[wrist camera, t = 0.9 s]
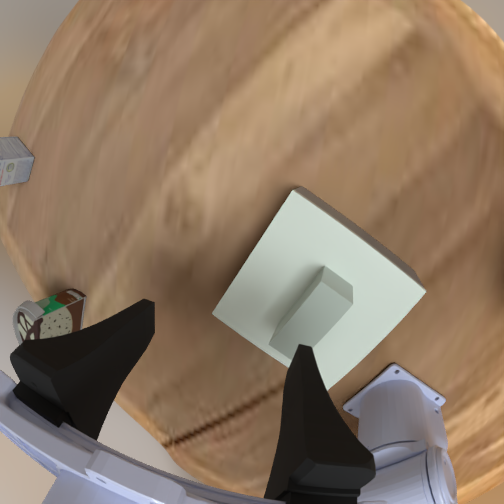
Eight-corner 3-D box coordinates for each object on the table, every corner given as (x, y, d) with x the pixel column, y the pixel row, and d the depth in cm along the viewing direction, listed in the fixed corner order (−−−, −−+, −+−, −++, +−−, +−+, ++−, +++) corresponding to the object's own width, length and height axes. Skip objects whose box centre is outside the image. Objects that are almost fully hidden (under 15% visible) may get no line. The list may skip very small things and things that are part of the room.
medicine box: (12, 159, 35) (-29, 165, 27) (18, 135, 34) (-24, 139, 26) (29, 181, 35) (-16, 190, 27) (35, 156, 33) (-12, 162, 25)
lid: (423, 286, 19) (436, 310, 16) (327, 384, 24) (321, 415, 20) (294, 189, 20) (283, 193, 17) (216, 308, 25) (195, 331, 21)
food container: (61, 263, 36) (7, 287, 27) (87, 288, 35) (32, 318, 26) (57, 321, 41) (14, 347, 32) (80, 344, 40) (37, 375, 31)
